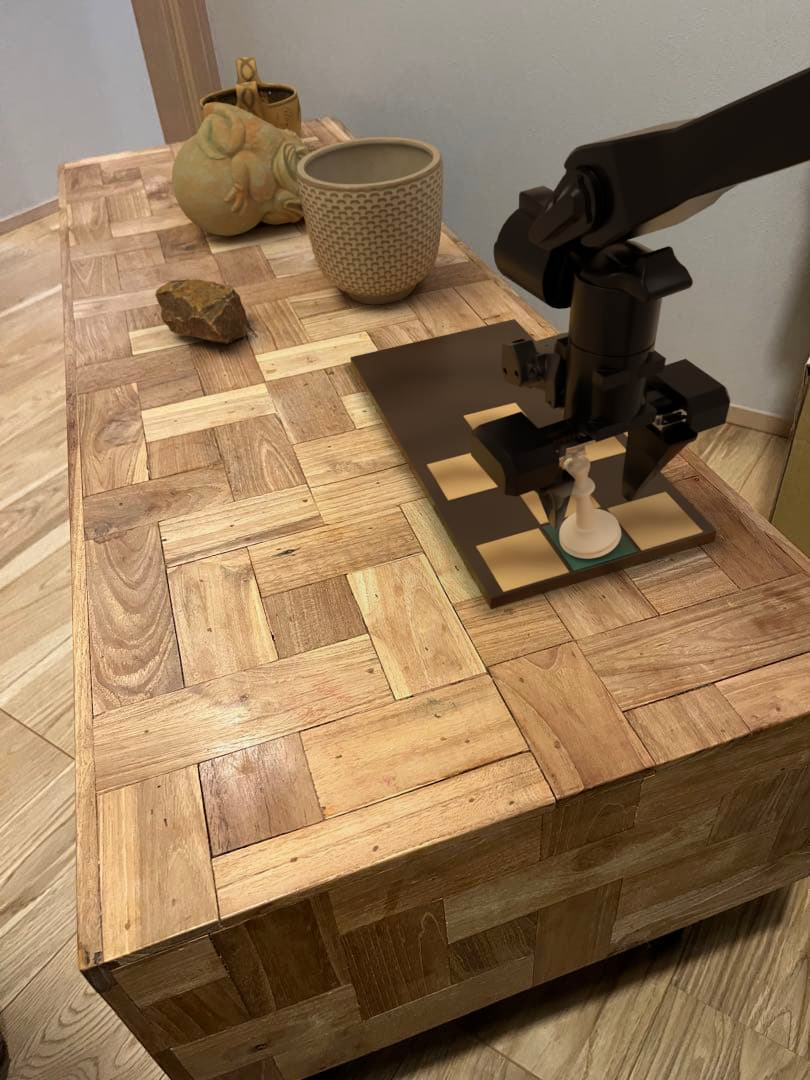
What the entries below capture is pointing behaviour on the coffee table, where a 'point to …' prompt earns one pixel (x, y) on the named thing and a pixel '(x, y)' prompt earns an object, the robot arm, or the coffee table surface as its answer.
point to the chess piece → (586, 515)
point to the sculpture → (238, 172)
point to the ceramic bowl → (260, 98)
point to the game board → (471, 495)
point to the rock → (202, 310)
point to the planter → (373, 214)
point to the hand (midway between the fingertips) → (591, 511)
